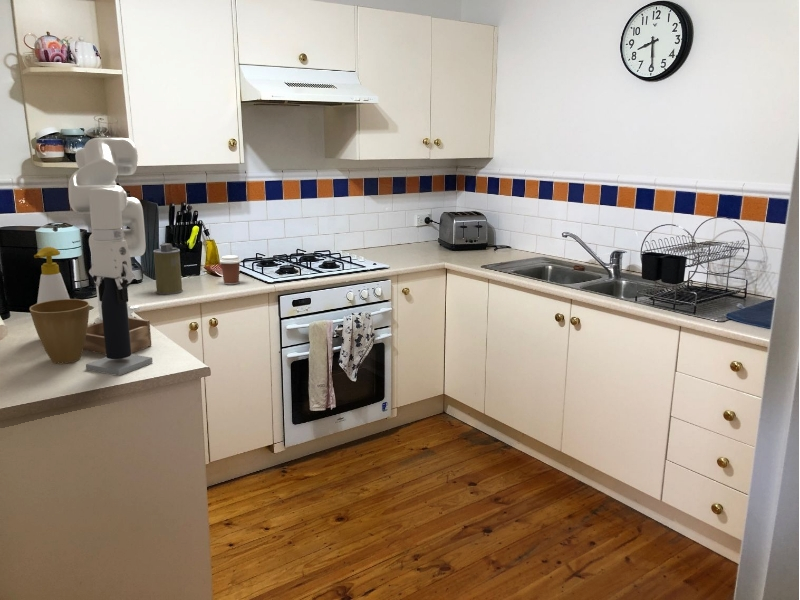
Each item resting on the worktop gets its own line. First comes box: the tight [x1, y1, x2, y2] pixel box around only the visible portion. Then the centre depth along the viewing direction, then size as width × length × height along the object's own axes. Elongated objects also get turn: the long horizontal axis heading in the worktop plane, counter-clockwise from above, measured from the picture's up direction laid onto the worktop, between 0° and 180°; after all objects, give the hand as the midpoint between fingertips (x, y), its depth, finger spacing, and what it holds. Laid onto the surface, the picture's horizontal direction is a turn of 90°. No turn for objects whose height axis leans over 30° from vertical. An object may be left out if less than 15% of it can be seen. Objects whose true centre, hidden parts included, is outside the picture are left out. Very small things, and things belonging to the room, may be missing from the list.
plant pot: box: [29, 298, 90, 364], centre depth 185 cm, size 15×15×16 cm
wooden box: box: [83, 317, 152, 355], centre depth 197 cm, size 12×16×8 cm
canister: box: [152, 242, 184, 295], centre depth 272 cm, size 11×10×20 cm
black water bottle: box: [101, 277, 132, 359], centre depth 178 cm, size 6×6×30 cm
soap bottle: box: [33, 246, 71, 304], centre depth 202 cm, size 13×10×29 cm
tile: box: [85, 353, 154, 376], centre depth 182 cm, size 12×12×2 cm
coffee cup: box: [219, 254, 242, 285], centre depth 290 cm, size 9×9×12 cm
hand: (113, 300), depth 178 cm, fingers closed on black water bottle, 5 cm apart
